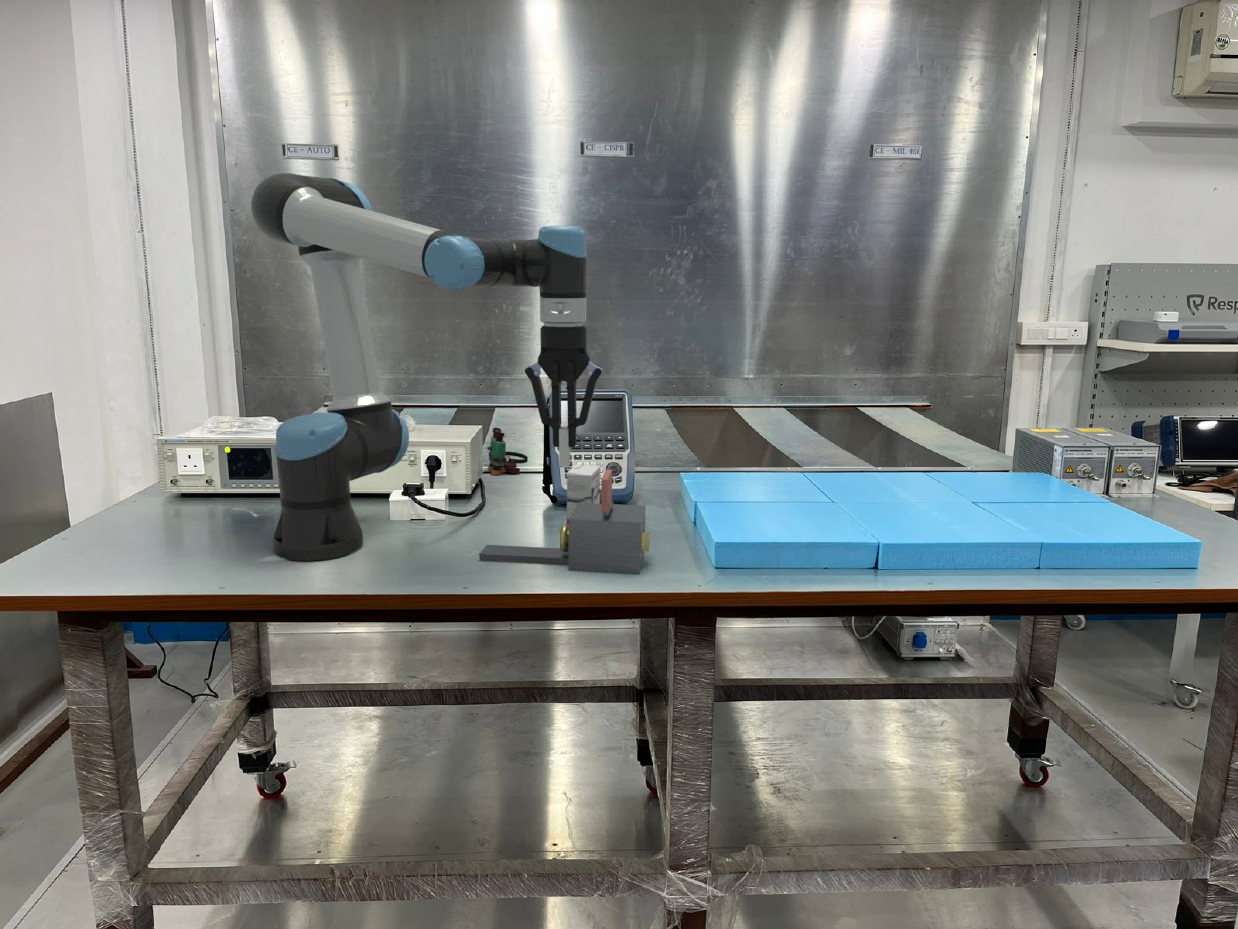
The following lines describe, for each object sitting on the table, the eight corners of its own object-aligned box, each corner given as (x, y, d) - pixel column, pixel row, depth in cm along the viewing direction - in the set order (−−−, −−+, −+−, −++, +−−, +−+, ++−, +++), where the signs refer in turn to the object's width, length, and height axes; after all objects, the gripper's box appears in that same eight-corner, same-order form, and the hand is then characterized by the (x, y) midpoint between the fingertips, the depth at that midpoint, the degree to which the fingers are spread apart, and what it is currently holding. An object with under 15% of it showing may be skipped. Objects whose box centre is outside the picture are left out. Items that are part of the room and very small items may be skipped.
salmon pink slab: (600, 517, 140) (601, 479, 139) (606, 505, 147) (606, 469, 145) (608, 517, 140) (609, 479, 139) (613, 506, 147) (613, 469, 145)
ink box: (590, 535, 160) (591, 474, 157) (565, 533, 161) (565, 473, 158) (600, 521, 168) (601, 464, 166) (576, 520, 169) (577, 463, 167)
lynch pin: (559, 555, 144) (559, 528, 143) (564, 546, 148) (564, 520, 147) (647, 560, 142) (648, 533, 141) (649, 550, 147) (650, 524, 146)
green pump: (532, 435, 203) (491, 433, 200) (528, 477, 205) (487, 476, 202) (525, 428, 211) (485, 426, 208) (521, 469, 213) (482, 467, 210)
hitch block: (475, 565, 143) (474, 514, 141) (490, 546, 153) (489, 498, 151) (639, 574, 140) (640, 522, 138) (644, 554, 150) (645, 505, 148)
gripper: (519, 325, 134) (522, 470, 139) (601, 326, 133) (601, 471, 138) (527, 322, 141) (530, 460, 146) (605, 323, 140) (605, 461, 146)
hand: (564, 465), depth 142 cm, fingers closed
